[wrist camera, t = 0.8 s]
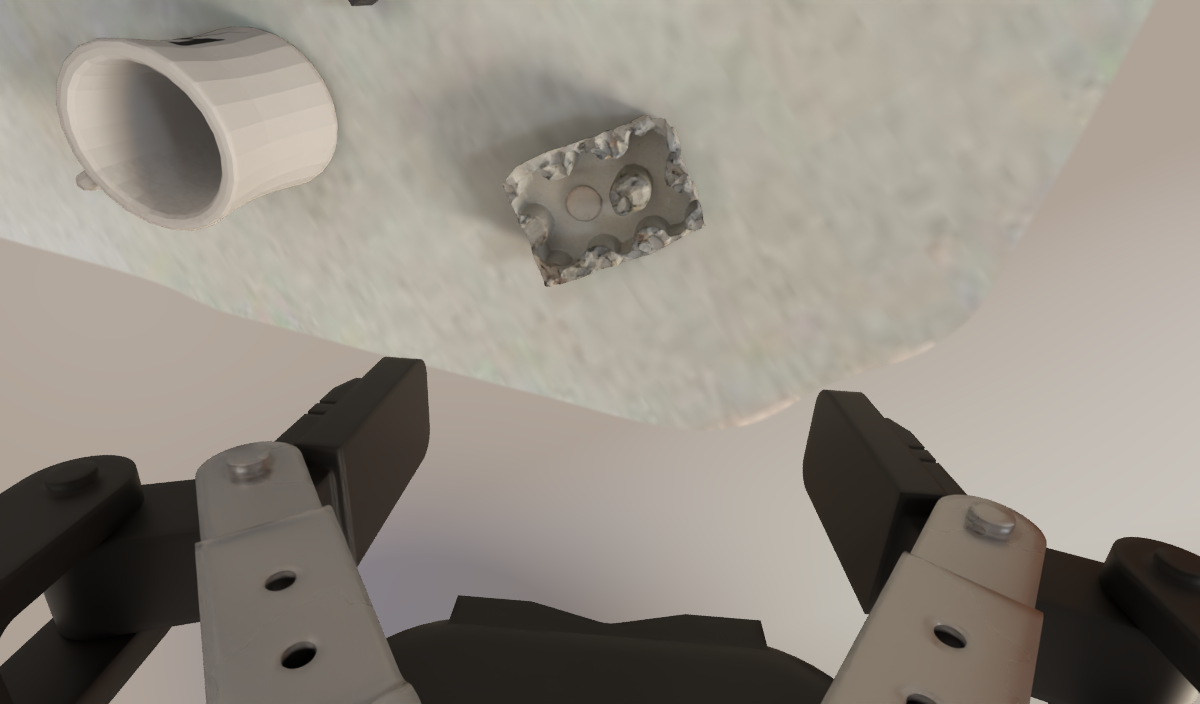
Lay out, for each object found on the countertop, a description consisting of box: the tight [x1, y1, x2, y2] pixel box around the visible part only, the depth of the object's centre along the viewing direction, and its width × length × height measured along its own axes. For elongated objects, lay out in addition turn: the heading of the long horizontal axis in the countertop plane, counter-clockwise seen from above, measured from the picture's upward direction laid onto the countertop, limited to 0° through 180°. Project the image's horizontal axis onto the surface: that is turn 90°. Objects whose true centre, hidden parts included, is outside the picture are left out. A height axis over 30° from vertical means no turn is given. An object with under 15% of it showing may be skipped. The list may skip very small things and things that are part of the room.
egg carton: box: [503, 115, 705, 286], centre depth 35 cm, size 11×8×4 cm
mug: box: [56, 27, 338, 231], centre depth 33 cm, size 12×9×10 cm
